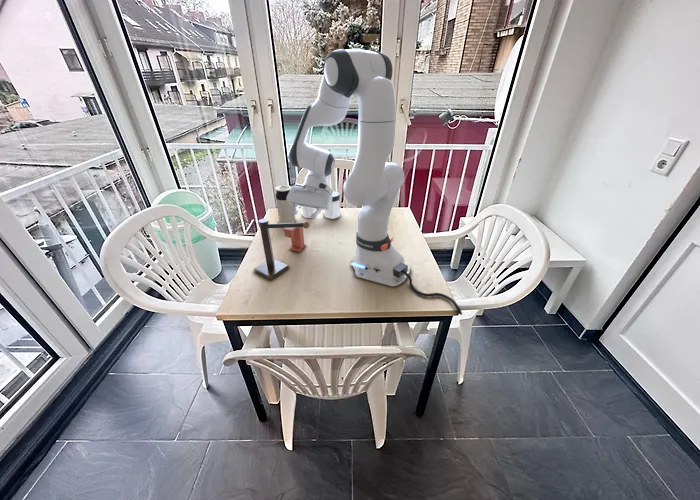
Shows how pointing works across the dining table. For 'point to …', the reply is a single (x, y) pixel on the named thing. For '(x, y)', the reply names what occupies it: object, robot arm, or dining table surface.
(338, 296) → the dining table surface
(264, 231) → the peg stand
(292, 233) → the hook block
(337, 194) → the jar
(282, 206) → the travel mug
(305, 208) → the foam cup
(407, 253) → the dining table surface
